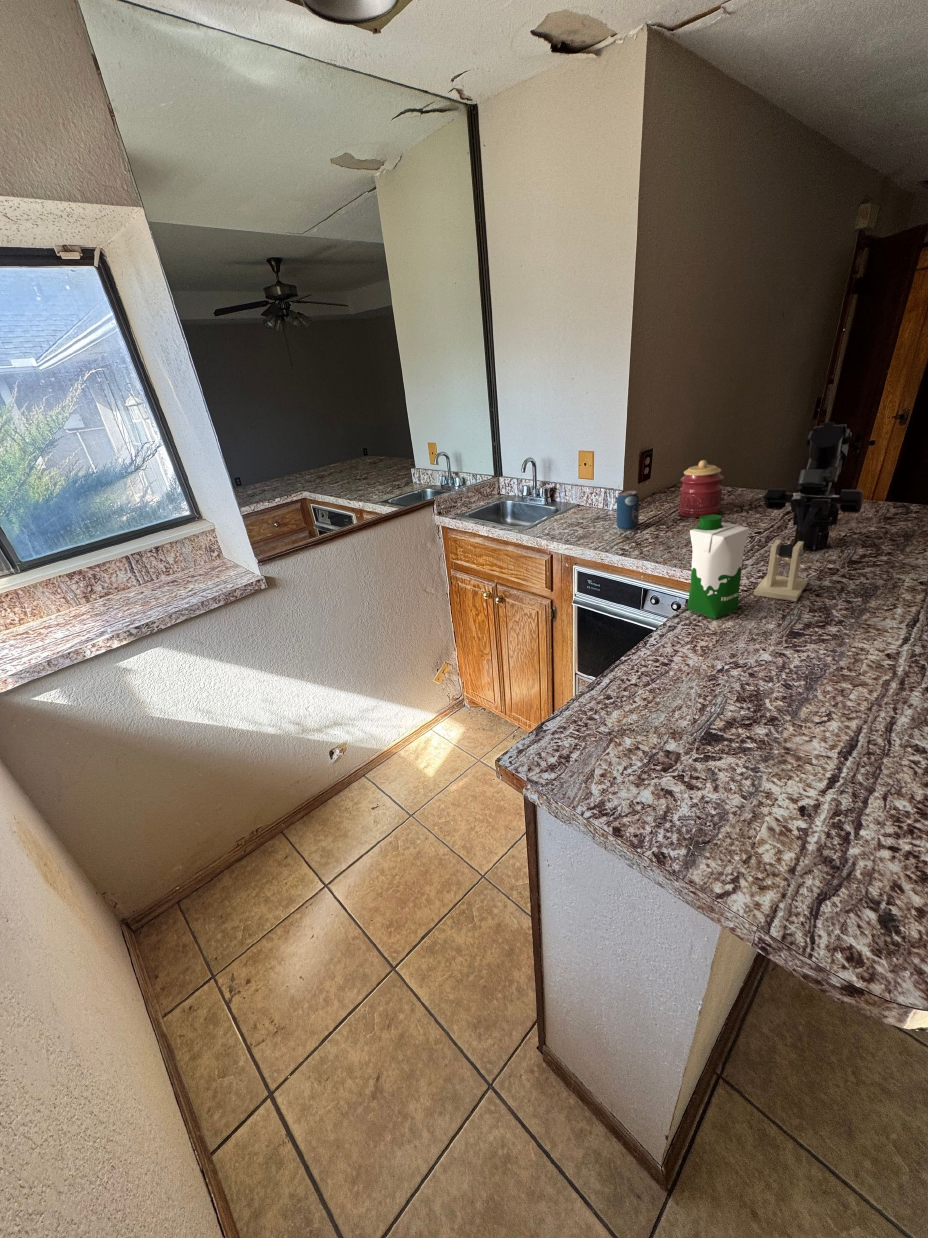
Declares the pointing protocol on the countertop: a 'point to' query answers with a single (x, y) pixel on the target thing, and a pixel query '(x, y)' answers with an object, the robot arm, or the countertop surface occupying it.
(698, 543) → the milk carton
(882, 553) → the countertop surface
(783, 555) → the switch lever
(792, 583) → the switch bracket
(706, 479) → the kitchen canister
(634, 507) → the soda can
